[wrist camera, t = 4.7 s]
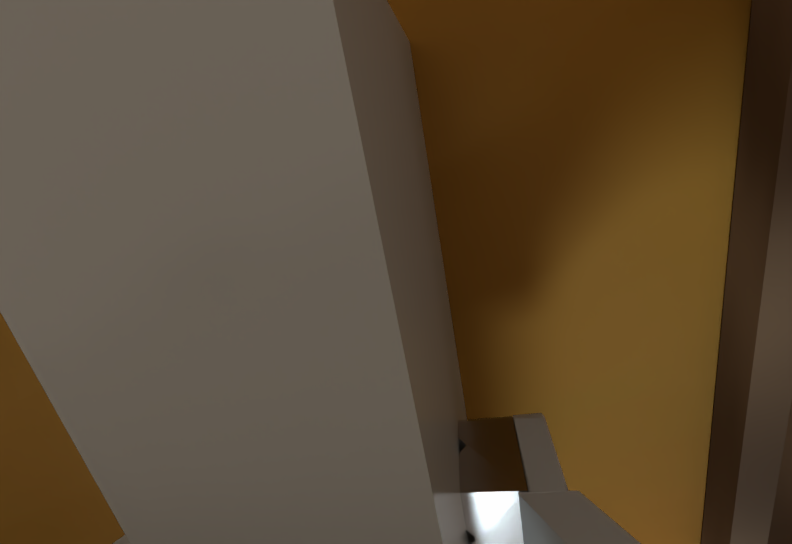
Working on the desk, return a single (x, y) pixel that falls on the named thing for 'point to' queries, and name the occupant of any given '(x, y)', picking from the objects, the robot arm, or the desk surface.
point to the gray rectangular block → (232, 266)
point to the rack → (757, 307)
